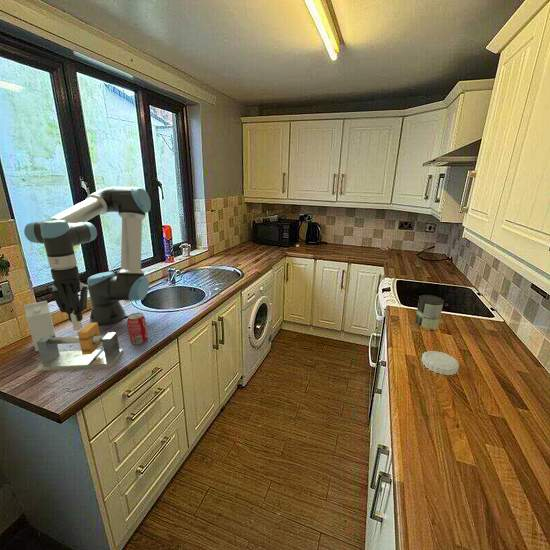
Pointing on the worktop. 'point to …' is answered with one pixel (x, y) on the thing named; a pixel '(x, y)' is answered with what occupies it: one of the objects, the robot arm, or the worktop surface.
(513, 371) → the worktop surface
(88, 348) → the orange tall block
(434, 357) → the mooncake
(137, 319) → the soda can
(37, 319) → the milk carton
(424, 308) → the coffee can
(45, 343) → the pipe stand
